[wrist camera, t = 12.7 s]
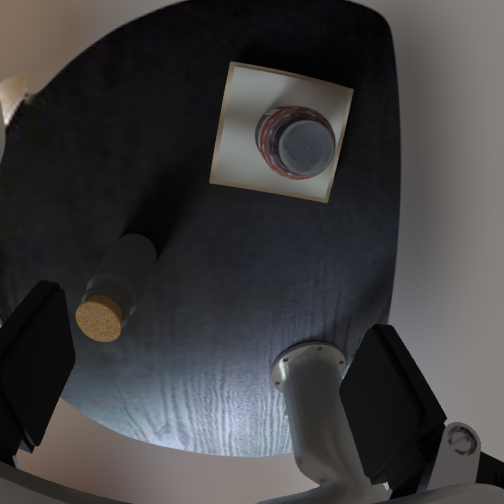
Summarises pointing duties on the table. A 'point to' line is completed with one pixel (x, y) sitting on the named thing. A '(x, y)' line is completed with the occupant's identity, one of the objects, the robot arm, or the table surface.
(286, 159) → the supplement bottle
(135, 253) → the bottle
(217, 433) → the table surface
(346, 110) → the grey square box
